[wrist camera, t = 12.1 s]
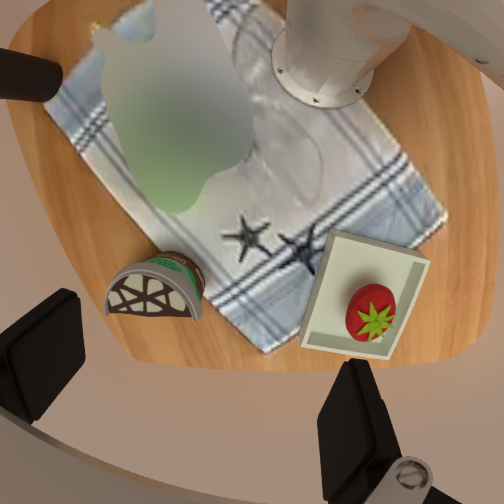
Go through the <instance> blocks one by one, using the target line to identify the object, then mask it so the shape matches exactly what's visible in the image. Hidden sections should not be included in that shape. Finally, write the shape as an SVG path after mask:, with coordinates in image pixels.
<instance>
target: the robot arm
mask: <svg viewBox="0 0 504 504" xmlns="http://www.w3.org/2000/svg"><path fill="white" fill-rule="evenodd" d="M412 25H414V26H415V27H417V28H419V29H422V30H424V31H425V32H427V33H428V34H430V35H432V36H433V37H435V38H436V39H438V40H439V41H441V42H442V43H443V44H445V45H446V46H448V47H449V48H451V49H452V50H453V51H455V52H456V53H457V54H459V55H460V56H462V57H463V58H464V59H465V60H467V61H468V62H469V63H471V64H472V65H473V66H474V67H476V68H477V69H478V70H479V71H481V72H482V73H484V74H485V75H486V76H487V77H488V78H489V79H491V80H492V81H493V82H494V83H495V84H497V85H498V86H499V87H501V88H502V89H503V90H504V0H287V15H286V28H285V29H284V30H283V31H282V32H281V33H280V34H279V35H278V37H277V38H276V40H275V42H274V45H273V48H272V55H271V62H272V68H273V72H274V74H275V77H276V79H277V81H278V82H279V84H280V85H281V87H282V88H283V89H284V90H285V91H286V92H287V93H288V94H289V95H290V96H291V97H293V98H294V99H296V100H297V101H299V102H301V103H303V104H305V105H307V106H311V107H314V108H319V109H337V108H341V107H345V106H347V105H349V104H352V103H354V102H355V101H357V100H358V99H359V98H360V97H362V96H363V95H364V94H365V92H366V91H367V90H368V88H369V87H370V84H371V82H372V80H373V75H374V68H375V67H376V66H377V65H379V64H380V63H381V62H382V61H383V60H384V59H386V58H387V57H388V56H389V55H390V54H391V53H393V52H394V51H395V50H396V49H397V48H398V47H399V46H400V45H401V44H402V43H403V42H404V41H405V40H406V38H407V37H408V35H409V32H410V30H411V28H412ZM279 71H282V72H283V73H281V74H280V73H278V72H279ZM355 90H358V91H359V93H356V91H355ZM313 100H317V103H314V102H313ZM84 362H85V347H84V338H83V328H82V316H81V302H80V298H78V296H77V294H76V293H75V292H73V291H70V290H68V289H65V288H61V289H59V290H58V291H56V292H55V293H54V294H52V295H51V296H49V297H48V298H47V299H45V300H44V301H43V302H41V303H40V304H39V305H37V306H36V307H35V308H33V309H32V310H31V311H29V312H28V313H27V314H25V315H24V316H23V317H21V318H20V319H19V320H17V321H16V322H15V323H14V324H12V325H11V326H10V327H9V328H7V329H6V330H5V331H3V332H2V333H1V334H0V504H264V503H256V502H249V501H242V500H236V499H230V498H225V497H220V496H214V495H210V494H205V493H201V492H197V491H192V490H189V489H184V488H181V487H177V486H174V485H170V484H166V483H163V482H159V481H156V480H153V479H150V478H147V477H144V476H141V475H138V474H135V473H132V472H130V471H127V470H124V469H122V468H119V467H116V466H114V465H111V464H109V463H106V462H104V461H101V460H99V459H97V458H94V457H92V456H90V455H88V454H85V453H83V452H81V451H79V450H77V449H75V448H73V447H70V446H68V445H66V444H64V443H63V442H61V441H59V440H57V439H55V438H53V437H51V436H49V435H47V434H45V433H44V432H42V431H40V430H38V429H37V428H35V427H33V426H31V424H32V423H33V421H34V420H35V421H37V420H39V419H40V417H41V416H42V415H43V414H44V412H45V411H46V410H47V409H48V407H49V406H50V405H51V403H52V402H53V401H54V400H55V398H56V397H57V396H58V394H59V393H60V392H61V391H62V390H63V388H64V387H65V386H66V385H67V384H68V382H69V381H70V380H71V379H72V377H73V376H74V375H75V374H76V373H77V371H78V370H79V369H80V368H81V366H82V365H83V364H84ZM317 427H318V439H319V450H320V462H321V474H322V488H323V499H324V500H325V501H328V504H462V503H460V502H458V501H456V500H455V499H453V498H451V497H450V496H448V495H446V494H444V493H443V492H441V491H439V490H438V489H436V488H435V487H433V486H431V485H432V481H433V474H432V472H431V469H430V468H429V466H427V464H426V463H425V462H423V461H422V460H421V459H418V458H416V457H410V456H407V457H402V454H401V451H400V448H399V445H398V441H397V438H396V436H395V432H394V429H393V426H392V423H391V420H390V417H389V414H388V411H387V408H386V405H385V403H384V401H383V400H382V399H381V396H380V393H379V390H378V388H377V385H376V382H375V379H374V376H373V373H372V371H371V368H370V365H369V362H368V361H367V360H363V359H355V358H351V359H350V360H349V361H348V362H346V361H345V362H344V363H343V364H342V367H341V369H340V371H339V373H338V376H337V378H336V380H335V382H334V384H333V386H332V389H331V391H330V393H329V395H328V397H327V399H326V401H325V403H324V405H323V407H322V409H321V411H320V413H319V415H318V419H317Z"/></svg>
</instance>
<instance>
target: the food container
mask: <svg viewBox="0 0 504 504" xmlns="http://www.w3.org/2000/svg"><path fill="white" fill-rule="evenodd" d="M204 289H205V281H204V277H203V275H202V273H201V271H200V269H199V267H198V266H197V265H196V264H195V263H194V262H193V261H192V260H191V259H190V258H188V257H186V256H185V255H183V254H181V253H177V252H173V251H166V252H161V253H158V254H156V255H154V256H153V257H151V258H150V259H148V260H146V261H145V262H142V263H135V264H132V265H129V266H127V267H125V268H123V269H122V270H121V271H119V272H118V273H117V275H116V276H115V277H114V279H113V280H112V282H111V284H110V285H109V287H108V289H107V292H106V296H105V301H104V312H105V317H106V316H107V315H109V314H110V313H124V314H133V315H139V316H147V317H158V316H174V317H192V319H193V322H195V320H198V319H199V318H200V317H201V315H202V314H203V311H202V307H201V304H200V302H201V299H202V296H203V292H204Z"/></svg>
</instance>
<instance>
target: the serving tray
mask: <svg viewBox="0 0 504 504" xmlns="http://www.w3.org/2000/svg"><path fill="white" fill-rule="evenodd" d="M430 262H431V261H430V260H429V259H428V258H427V257H425V256H424V255H423V254H422V253H420V252H419V251H416V250H412V249H409V248H405V247H401V246H397V245H394V244H390V243H386V242H382V241H379V240H375V239H371V238H367V237H363V236H359V235H355V234H351V233H347V232H343V231H339V230H335V229H331V228H330V231H329V234H328V238H327V241H326V245H325V249H324V252H323V256H322V259H321V263H320V266H319V269H318V273H317V276H316V280H315V283H314V286H313V290H312V293H311V296H310V299H309V302H308V306H307V309H306V312H305V315H304V318H303V321H302V324H301V327H300V330H299V332H300V343H301V347H306V348H311V349H317V350H323V351H329V352H335V353H341V354H348V355H354V356H361V357H368V358H376V359H384V360H389V359H390V357H391V355H392V353H393V351H394V348H395V346H396V344H397V342H398V340H399V338H400V336H401V334H402V331H403V329H404V327H405V325H406V323H407V320H408V318H409V316H410V313H411V311H412V309H413V306H414V304H415V301H416V299H417V296H418V294H419V291H420V289H421V286H422V284H423V281H424V278H425V276H426V273H427V270H428V267H429V265H430ZM372 283H377V284H381V285H383V286H385V287H387V288H389V289H390V290H391V291H392V293H393V295H394V298H395V303H396V312H395V314H396V316H394V319H393V321H392V323H391V325H392V326H394V327H393V328H388V329H387V330H386V331H385V332H384V333H383V335H384V338H383V337H382V336H379V337H378V338H376V339H374V340H372V341H369V343H368V342H360V341H357V340H355V339H354V338H352V337H351V335H350V334H349V332H348V331H347V328H346V325H345V317H346V312H347V308H348V304H349V302H350V300H351V298H352V297H353V295H354V294H355V293H356V292H357V291H358V290H359V289H360V288H362V287H363V286H365V285H368V284H372Z"/></svg>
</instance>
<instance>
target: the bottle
mask: <svg viewBox="0 0 504 504" xmlns="http://www.w3.org/2000/svg"><path fill="white" fill-rule="evenodd" d="M61 80H62V71H61V67H60V66H59V65H58V64H57V63H55V62H53V61H49V60H46V59H42V58H39V57H35V56H31V55H27V54H24V53H20V52H16V51H12V50H7V49H3V48H0V99H11V100H23V101H32V102H45V101H48V100H49V99H51V98H52V97H53V96H54V95H55V93H56V92H57V90H58V88H59V86H60V84H61Z"/></svg>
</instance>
